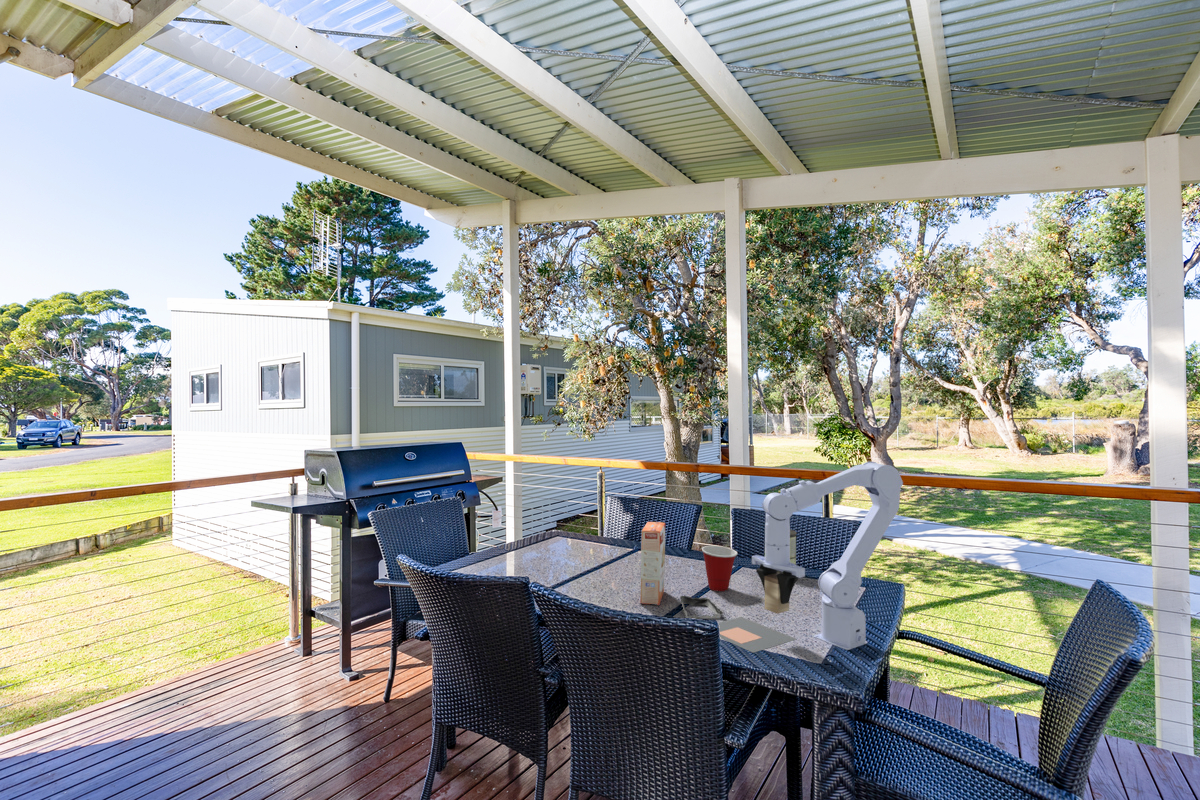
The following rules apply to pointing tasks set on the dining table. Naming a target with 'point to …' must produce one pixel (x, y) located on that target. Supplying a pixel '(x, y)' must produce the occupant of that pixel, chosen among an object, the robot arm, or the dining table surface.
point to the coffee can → (792, 548)
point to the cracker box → (652, 563)
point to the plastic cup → (718, 566)
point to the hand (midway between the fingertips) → (777, 600)
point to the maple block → (773, 595)
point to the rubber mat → (751, 634)
